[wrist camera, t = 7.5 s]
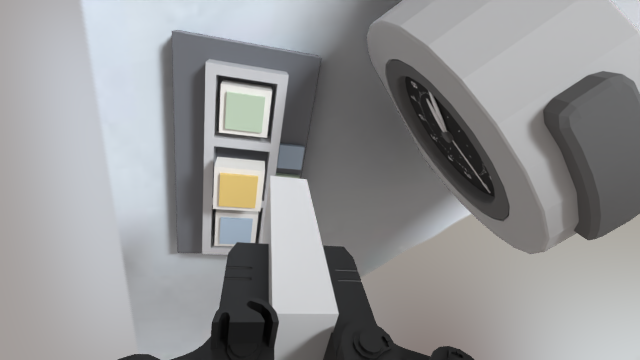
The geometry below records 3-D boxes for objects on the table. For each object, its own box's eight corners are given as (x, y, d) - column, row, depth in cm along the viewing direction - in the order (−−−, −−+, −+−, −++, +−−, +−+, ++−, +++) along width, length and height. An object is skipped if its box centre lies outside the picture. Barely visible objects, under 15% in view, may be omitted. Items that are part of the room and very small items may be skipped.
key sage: (223, 79, 26) (220, 84, 24) (271, 86, 27) (272, 92, 25) (221, 125, 28) (218, 133, 26) (266, 130, 29) (267, 139, 27)
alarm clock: (348, 20, 28) (495, 26, 10) (419, -36, 27) (715, -130, 9) (437, 182, 38) (587, 322, 20) (491, 147, 37) (698, 263, 19)
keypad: (177, 30, 26) (164, 32, 22) (317, 55, 29) (325, 60, 25) (181, 240, 35) (173, 265, 32) (286, 244, 38) (288, 267, 35)
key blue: (218, 201, 31) (215, 214, 29) (258, 203, 32) (258, 216, 30) (216, 233, 33) (213, 247, 31) (255, 235, 34) (254, 248, 32)
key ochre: (217, 156, 26) (213, 168, 24) (264, 161, 27) (265, 172, 25) (215, 196, 28) (212, 210, 26) (260, 199, 29) (260, 213, 27)
